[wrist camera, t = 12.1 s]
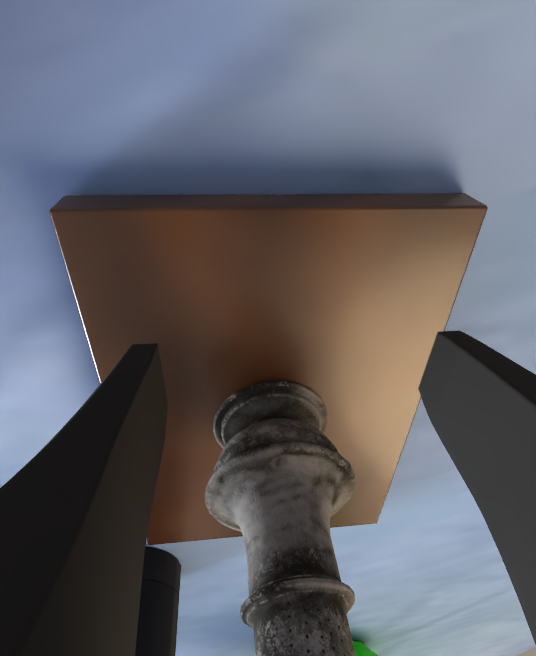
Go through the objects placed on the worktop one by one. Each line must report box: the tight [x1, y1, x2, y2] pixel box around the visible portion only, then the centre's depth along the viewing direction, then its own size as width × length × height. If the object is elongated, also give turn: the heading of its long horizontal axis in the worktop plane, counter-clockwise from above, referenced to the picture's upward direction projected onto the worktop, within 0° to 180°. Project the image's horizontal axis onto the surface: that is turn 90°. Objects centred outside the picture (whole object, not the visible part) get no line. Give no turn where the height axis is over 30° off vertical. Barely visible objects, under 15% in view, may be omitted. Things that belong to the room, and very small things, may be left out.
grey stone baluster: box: [205, 381, 356, 656], centre depth 13 cm, size 6×6×12 cm
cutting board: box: [50, 194, 487, 545], centre depth 19 cm, size 14×20×2 cm
